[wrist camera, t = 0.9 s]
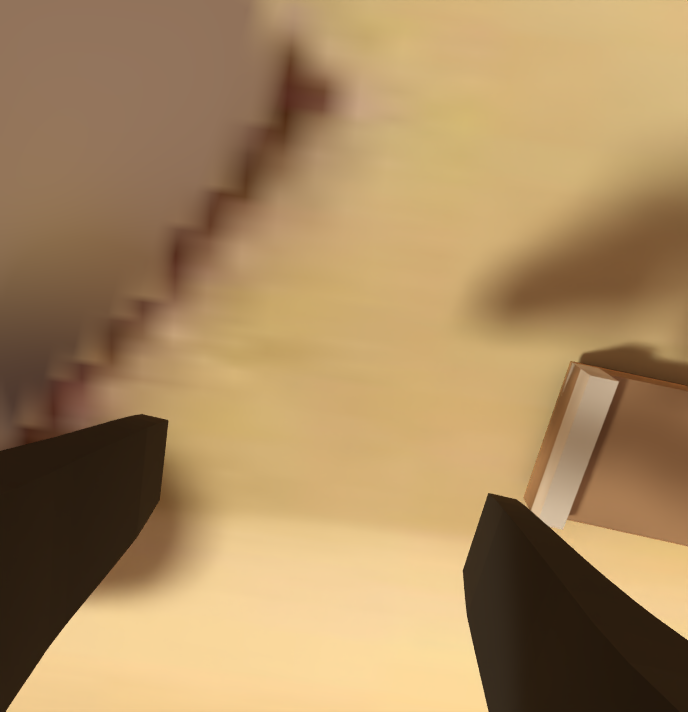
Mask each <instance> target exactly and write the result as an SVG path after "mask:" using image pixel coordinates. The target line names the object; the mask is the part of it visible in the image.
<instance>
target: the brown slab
mask: <svg viewBox="0 0 688 712" xmlns="http://www.w3.org/2000/svg"><path fill="white" fill-rule="evenodd" d="M524 499H525V501H526V503H527V505H528V507H529V509H530V510H531V511H532V512H533V513H534V514H535V515H536V516H538V517H539V518H540V519H541V520H542V521H543V522H544V523H545V524H546V525H548V526H549V527H554V528H558V529H563V528H564V526H565V523H566V520H571V521H576V522H580V523H585V524H589V525H594V526H598V527H603V528H607V529H612V530H616V531H621V532H625V533H630V534H635V535H639V536H644V537H648V538H653V539H657V540H662V541H666V542H671V543H675V544H680V545H684V546H688V386H686V385H681V384H676V383H672V382H667V381H662V380H657V379H653V378H648V377H643V376H638V375H634V374H629V373H624V372H620V371H615V370H610V369H605V368H601V367H596V366H591V365H586V364H582V363H577V362H572V361H570V364H569V367H568V370H567V373H566V376H565V379H564V382H563V385H562V387H561V390H560V393H559V396H558V399H557V402H556V405H555V408H554V411H553V414H552V416H551V419H550V422H549V425H548V428H547V431H546V434H545V437H544V440H543V443H542V446H541V448H540V451H539V454H538V457H537V460H536V463H535V466H534V469H533V472H532V475H531V478H530V480H529V483H528V486H527V489H526V492H525V495H524Z"/></svg>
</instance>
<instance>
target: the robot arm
mask: <svg viewBox="0 0 688 712" xmlns="http://www.w3.org/2000/svg"><path fill="white" fill-rule="evenodd" d="M167 429H168V420H165V419H161V418H157V417H152V416H148V415H143V414H140V415H134V416H129V417H125V418H121V419H117V420H114V421H110V422H106V423H103V424H100V425H96V426H93V427H89V428H86V429H82V430H79V431H75V432H72V433H68V434H65V435H61V436H58V437H54V438H50V439H46V440H42V441H38V442H34V443H30V444H26V445H22V446H18V447H15V448H11V449H7V450H3V451H0V712H6V710H7V709H8V707H9V705H10V704H11V702H12V701H13V699H14V698H15V696H16V695H17V693H18V692H19V690H20V689H21V687H22V686H23V685H24V683H25V682H26V680H27V679H28V677H29V676H30V674H31V673H32V671H33V670H34V668H35V667H36V665H37V664H38V662H39V661H40V659H41V658H42V656H43V655H44V653H45V652H46V650H47V649H48V648H49V646H50V645H51V644H52V642H53V641H54V640H55V638H56V637H57V636H58V634H59V633H60V632H61V630H62V629H63V628H64V626H65V625H66V624H67V623H68V621H69V620H70V619H71V618H72V617H73V615H74V614H75V613H76V612H77V610H78V609H79V608H80V607H81V606H82V604H83V603H84V602H85V601H86V600H87V598H88V597H89V596H90V595H91V593H92V592H93V591H94V590H95V589H96V587H97V586H98V585H99V584H100V582H101V581H102V580H103V579H104V578H105V576H106V575H107V574H108V573H109V571H110V570H111V569H112V568H113V567H114V565H115V564H116V563H117V562H118V560H119V559H120V558H121V557H122V555H123V554H124V553H125V552H126V550H127V549H128V548H129V547H130V545H131V544H132V543H133V542H134V540H135V539H136V538H137V536H138V535H139V533H140V531H141V530H142V528H143V527H144V525H145V523H146V522H147V520H148V519H149V517H150V515H151V514H152V512H153V510H154V508H155V507H156V505H157V503H158V502H159V500H160V491H161V482H162V473H163V465H164V456H165V447H166V438H167ZM463 578H464V591H465V601H466V611H467V618H468V623H469V627H470V632H471V636H472V641H473V645H474V650H475V654H476V659H477V663H478V667H479V672H480V676H481V680H482V685H483V689H484V693H485V698H486V702H487V706H488V711H489V712H688V640H687V639H685V638H684V637H682V636H681V635H680V634H678V633H677V632H676V631H674V630H673V629H671V628H670V627H669V626H667V625H666V624H664V623H663V622H662V621H660V620H659V619H658V618H656V617H655V616H653V615H652V614H651V613H650V612H648V611H647V610H646V609H644V608H643V607H642V606H640V605H639V604H638V603H637V602H635V601H634V600H633V599H632V598H630V597H629V596H628V595H627V594H626V593H624V592H623V591H622V590H621V589H619V588H618V587H617V586H616V585H615V584H613V583H612V582H611V581H610V580H608V579H607V578H606V577H605V576H604V575H603V574H601V573H600V572H599V571H598V570H597V569H596V568H594V567H593V566H592V565H591V564H590V563H589V562H587V561H586V560H585V559H584V558H583V557H582V556H581V555H580V554H578V553H577V552H576V551H575V550H574V549H573V548H572V547H571V546H570V545H568V544H567V543H566V542H565V541H564V540H563V539H562V538H561V537H560V536H559V535H557V534H556V533H555V532H554V531H553V530H552V529H551V528H550V527H549V526H548V525H546V524H545V523H544V522H543V521H542V520H541V519H540V518H539V517H538V516H536V515H535V514H534V513H533V512H532V511H531V510H529V509H528V508H527V507H526V506H525V505H523V504H522V503H521V502H519V501H518V500H516V499H512V498H508V497H504V496H499V495H495V494H490V493H488V496H487V499H486V502H485V505H484V508H483V511H482V514H481V517H480V520H479V523H478V526H477V529H476V532H475V535H474V538H473V541H472V544H471V547H470V550H469V553H468V556H467V560H466V563H465V566H464V569H463Z"/></svg>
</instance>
